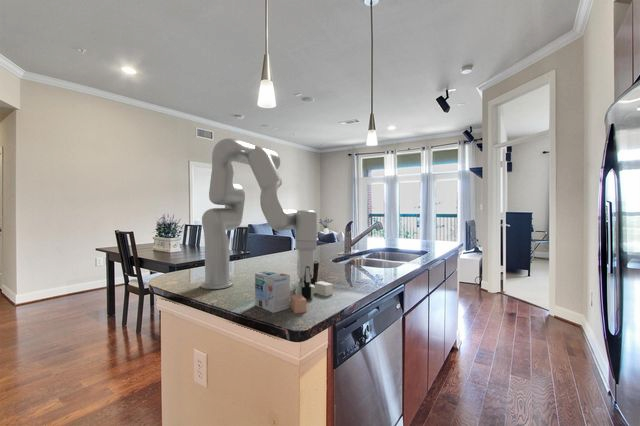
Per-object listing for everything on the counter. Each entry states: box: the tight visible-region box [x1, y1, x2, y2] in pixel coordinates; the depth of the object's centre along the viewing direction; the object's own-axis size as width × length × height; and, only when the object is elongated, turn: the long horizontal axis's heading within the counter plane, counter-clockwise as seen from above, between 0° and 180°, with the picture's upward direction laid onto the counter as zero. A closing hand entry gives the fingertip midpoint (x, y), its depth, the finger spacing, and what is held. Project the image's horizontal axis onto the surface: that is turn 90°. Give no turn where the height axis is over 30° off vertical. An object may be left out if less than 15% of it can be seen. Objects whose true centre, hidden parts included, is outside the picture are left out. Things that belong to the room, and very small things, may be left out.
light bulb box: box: [254, 269, 291, 314], centre depth 100 cm, size 11×7×11 cm, turn 44°
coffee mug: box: [299, 259, 320, 286], centre depth 127 cm, size 12×9×10 cm
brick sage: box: [294, 281, 315, 299], centre depth 110 cm, size 6×4×4 cm, turn 100°
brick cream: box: [314, 280, 334, 297], centre depth 114 cm, size 6×4×4 cm, turn 42°
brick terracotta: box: [290, 294, 307, 314], centre depth 97 cm, size 6×4×4 cm, turn 20°
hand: (305, 295), depth 110 cm, fingers closed on brick sage, 3 cm apart
